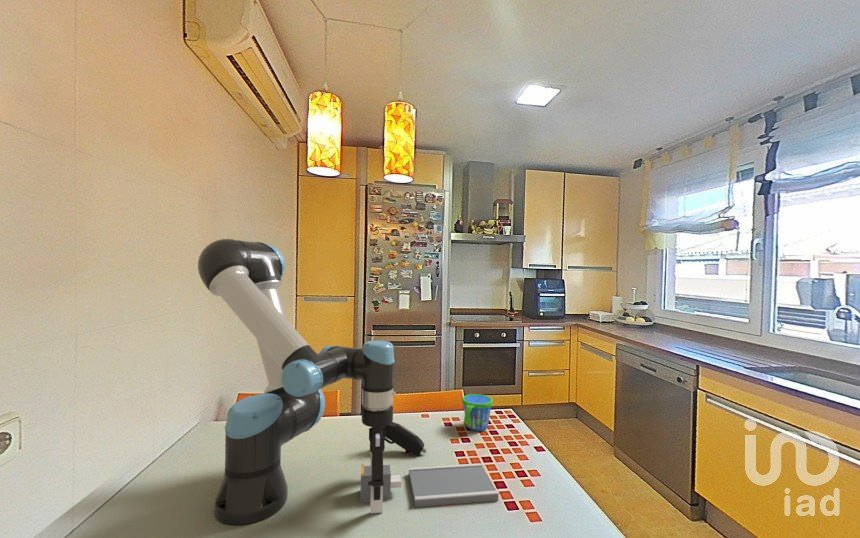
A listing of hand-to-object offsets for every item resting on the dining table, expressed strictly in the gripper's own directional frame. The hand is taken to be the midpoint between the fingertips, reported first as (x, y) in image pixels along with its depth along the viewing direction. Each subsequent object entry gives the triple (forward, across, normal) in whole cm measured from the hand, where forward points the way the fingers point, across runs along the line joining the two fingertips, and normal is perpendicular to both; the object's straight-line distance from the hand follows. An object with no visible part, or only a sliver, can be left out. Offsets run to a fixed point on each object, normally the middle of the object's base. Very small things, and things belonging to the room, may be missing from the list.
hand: (376, 494), depth 89 cm
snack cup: (0, +36, -36) cm, 51 cm away
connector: (0, 0, -1) cm, 1 cm away
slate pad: (0, +1, -19) cm, 19 cm away
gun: (0, +21, -8) cm, 23 cm away
